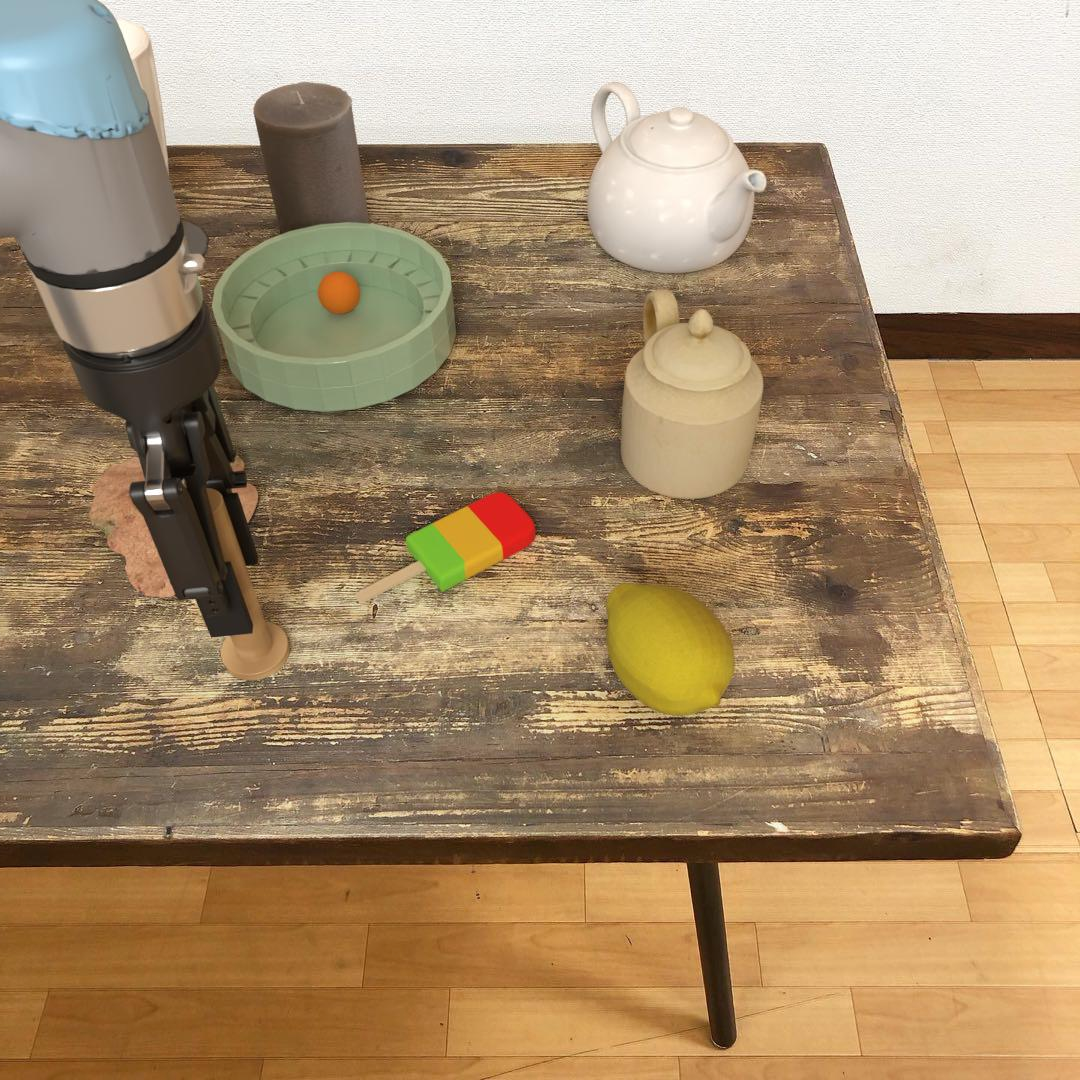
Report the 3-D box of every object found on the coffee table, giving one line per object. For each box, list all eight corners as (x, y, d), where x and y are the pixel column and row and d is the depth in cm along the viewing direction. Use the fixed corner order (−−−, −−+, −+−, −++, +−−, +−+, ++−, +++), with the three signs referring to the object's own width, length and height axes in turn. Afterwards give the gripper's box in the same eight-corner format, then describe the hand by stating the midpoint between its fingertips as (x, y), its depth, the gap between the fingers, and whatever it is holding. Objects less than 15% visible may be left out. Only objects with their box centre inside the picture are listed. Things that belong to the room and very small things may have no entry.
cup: (94, 231, 115) (17, 26, 99) (202, 212, 117) (144, 8, 101) (99, 291, 108) (17, 81, 92) (214, 269, 110) (154, 60, 94)
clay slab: (237, 592, 82) (228, 566, 80) (63, 598, 82) (49, 573, 79) (263, 457, 91) (255, 431, 89) (107, 463, 91) (95, 437, 89)
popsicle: (542, 541, 85) (541, 526, 83) (376, 630, 79) (372, 615, 78) (503, 500, 88) (502, 484, 86) (341, 583, 82) (337, 567, 81)
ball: (321, 324, 103) (313, 289, 100) (321, 299, 105) (315, 264, 102) (362, 320, 103) (356, 286, 100) (362, 296, 106) (356, 261, 103)
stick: (220, 684, 76) (157, 534, 64) (225, 630, 79) (166, 478, 67) (288, 677, 77) (238, 527, 65) (291, 623, 80) (243, 471, 68)
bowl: (218, 426, 94) (201, 373, 90) (236, 283, 109) (222, 231, 104) (463, 405, 96) (458, 352, 91) (449, 266, 110) (444, 214, 105)
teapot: (758, 193, 118) (776, 71, 108) (750, 290, 106) (770, 164, 96) (591, 179, 121) (593, 59, 110) (564, 274, 109) (565, 148, 99)
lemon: (753, 718, 74) (770, 650, 68) (654, 762, 72) (662, 696, 66) (673, 607, 80) (682, 536, 74) (580, 644, 78) (582, 574, 72)
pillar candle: (283, 258, 111) (252, 120, 100) (276, 209, 118) (246, 74, 106) (376, 244, 113) (355, 107, 101) (364, 197, 119) (344, 62, 108)
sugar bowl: (562, 428, 93) (562, 283, 82) (651, 373, 98) (663, 229, 87) (687, 522, 86) (705, 376, 75) (777, 457, 91) (807, 311, 79)
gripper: (188, 429, 50) (285, 703, 67) (221, 215, 62) (295, 494, 79) (23, 444, 49) (163, 716, 67) (88, 225, 61) (193, 504, 79)
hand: (235, 595), depth 73 cm, fingers open, 5 cm apart
